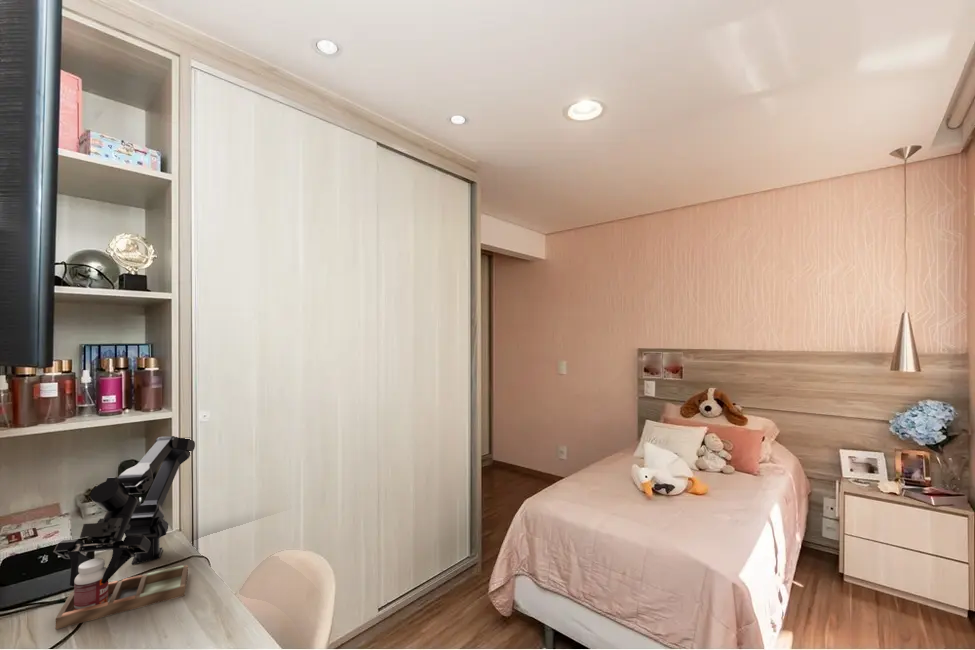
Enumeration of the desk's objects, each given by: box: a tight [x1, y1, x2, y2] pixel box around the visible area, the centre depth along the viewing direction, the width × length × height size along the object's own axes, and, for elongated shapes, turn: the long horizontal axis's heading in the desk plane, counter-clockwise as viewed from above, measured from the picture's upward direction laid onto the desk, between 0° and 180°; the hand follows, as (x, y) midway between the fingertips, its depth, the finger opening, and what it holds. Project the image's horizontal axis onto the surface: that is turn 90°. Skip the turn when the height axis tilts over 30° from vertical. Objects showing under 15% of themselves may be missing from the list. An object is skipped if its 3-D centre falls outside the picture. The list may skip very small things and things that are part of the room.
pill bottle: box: [73, 557, 109, 611], centre depth 105 cm, size 6×6×11 cm
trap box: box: [55, 564, 189, 630], centre depth 109 cm, size 24×11×3 cm, turn 121°
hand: (87, 584), depth 104 cm, fingers closed on pill bottle, 6 cm apart
